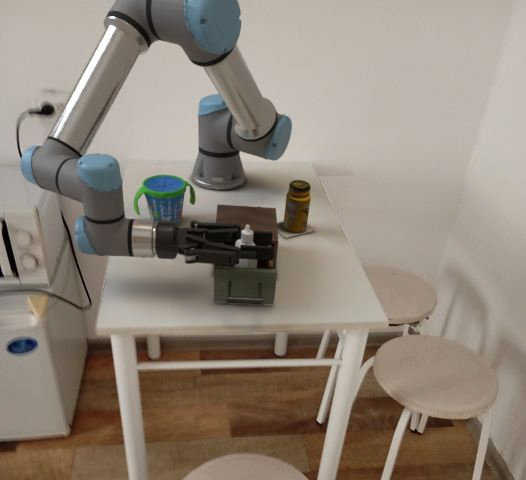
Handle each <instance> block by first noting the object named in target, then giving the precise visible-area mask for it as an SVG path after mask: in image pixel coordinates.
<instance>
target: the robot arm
mask: <svg viewBox="0 0 526 480" xmlns="http://www.w3.org/2000/svg"><path fill="white" fill-rule="evenodd" d="M241 16H242V11H241V7H240V3H239V1H238V0H115V1H114V3H113V4H112V6H111V8H110V9H108V12H107V14H106V16H105V17H104V19H103V28H104V31H103V34H102V35H101V37H100V39H99V40H98V43H97V44H96V47H95V48H94V50H93V52H92V53H91V55H90V56H89V57H90V58H89V59H88V61H87V63H86V65H85V67H84V69H82V72H81V74H80V76H79V78H78V80H77V81H76V83H75V85H74V87H73V89H72V91H71V92H70V94H69V96H68V98H67V100H65V101H66V102H65V103H64V105H63V106H62V108H61V111H60V112H59V115H57V118H56V119H55V122H54V123H53V125H52V128H51V129H50V131H49V133H48V135H47V137H46V139H45V140H44V141H43V144H42V145H31V146H30V147H28V148H27V149H25V150H24V152H23V153H22V154H21V157H20V164H19V166H20V171H21V174H22V176H23V178H24V179H25V180H26V181H27V182H28V183H31V184H33V185H35V186H37V187H39V188H40V189H41V190H45V191H48V192H51V193H54V194H58V195H60V196H63V197H66V198H68V199H70V200H73V201H75V202H78V203H81V204H82V206H83V213H84V215H80V216H78V218H77V219H76V221H75V225H74V242H75V246H76V249H77V250H78V252H80V253H81V254H83V255H93V256H99V257H106V256H107V257H130V258H141V259H145V258H147V259H154V258H155V257H156V258H158V259H160V260H175V259H177V256H178V255H180V256H184V263H185V264H187V265H191V264H207V265H214V264H221V265H236V264H239V259H255V260H273V249H274V248H273V247H272V246H254V245H240V248H239V247H235V246H230V245H225V244H220V242H232V241H237V240H239V239H241V231H242V230H241V226H240V225H237V224H231V223H216V222H206V221H205V222H203V221H198V220H190V221H189V227H188V226H186V227H179V226H178V225H177V223H176V222H175V221H161V220H160V221H159V222H158V223H156V221H155V220H151V219H146V218H145V219H142V218H129V217H128V218H127V217H126V212H125V203H124V189H123V185H124V184H123V183H124V182H123V178H122V174H121V167H120V163H119V161H118V159H117V158H116V157H114V156H113V155H111V154H107V153H103V154H102V153H99V152H97V153H96V152H94V153H88V151H89V150H90V147H91V145H92V144H93V141H94V140H95V138H96V136H97V135H98V132H99V130H101V129H100V128H101V127H102V125H103V124H104V121H105V120H106V118H107V116H108V114H109V112H110V110H111V109H112V106H113V104H114V103H115V101H116V99H117V98H118V95H119V93H120V92H121V90H122V88H123V86H124V84H125V83H126V80H127V79H128V77H129V75H130V74H131V71H132V69H134V66H135V64H136V62H137V60H138V58H139V56H143V55H146V54H147V53H148V51H149V49H150V48H151V46H152V45H153V44H154V43H155V42H158V41H161V42H165V43H168V44H169V43H170V44H174V45H178V46H179V47H180V48H181V50H183V52H184V54H185V56H187V58H188V60H189V61H190V62H191V63H192V64H193V65H195V66H197V67H200V68H203V70H204V72H205V73H206V75H207V77H208V78H209V80H210V82H211V83H212V85H213V86H214V88H215V89H216V91H217V93H215V94H209V95H206V96H204V97H202V98H201V99H200V100H199V102H198V109H197V110H198V113H197V119H198V120H197V123H198V124H197V125H198V126H197V127H198V153H197V156H196V158H195V162H194V165H193V168H192V173H191V178H192V181H193V183H194V184H196V185H197V186H199V187H201V188H205V189H207V190H214V191H215V190H216V191H228V190H234V189H236V188H239V187H241V186H242V185H243V184H244V183H245V180H246V179H245V178H246V174H245V169H244V165H243V163H242V159H241V154H240V152H241V153H243V154H247V155H251V156H253V157H257V158H262V159H264V160H269V161H274V162H276V161H278V160H279V159H280V158H282V157H283V155H284V154H285V153H286V151H287V148H288V146H289V143H290V140H291V137H292V129H293V121H292V119H291V117H290V116H289V115H286V114H285V113H283V114H281V113H279V112H278V111H277V109H276V107H275V105H274V103H273V102H272V101H271V100H270V99H269V98H267V97H264V96H263V94H262V93H261V90H260V88H259V86H258V85H257V82H256V80H255V78H254V76H253V74H252V72H251V70H250V68H249V66H248V64H247V62H246V61H245V58H244V56H243V55H242V52H241V51H240V48H239V47H238V40H239V38H240V36H241V30H242V19H240V17H241ZM87 153H88V154H87ZM272 235H273V232H268V231H253V242H254V244H259V245H272Z"/></svg>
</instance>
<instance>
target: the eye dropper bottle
mask: <svg viewBox="0 0 526 480" xmlns="http://www.w3.org/2000/svg"><path fill="white" fill-rule="evenodd" d="M240 245H254V246H256V245H255V244H254V242H253V231H252V230H250V225H246V228H245V229H244V230H242V231H241V239H239V240H237V241H236V243H235V247H239V248H240ZM234 267H243V268H257V260H255V259H239V264H236V265H234Z"/></svg>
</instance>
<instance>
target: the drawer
mask: <svg viewBox="0 0 526 480" xmlns="http://www.w3.org/2000/svg"><path fill="white" fill-rule="evenodd" d="M235 243H236V241H232V242H220V244H225V245H230V246H235ZM255 245H256V246H272V245H259V244H255ZM213 268H214V276H213V302H214V303H215V302H216V303H226V304H233V305H251V306H252V305H255V306H264V305H271V306H272V305H274V304H275V297H276V288H277V287H276V285H277V278H278V277H277V276H278V269H277V268H276V269H273V260H257V268H243V267H234V265H221V264H218V266H214V265H213Z"/></svg>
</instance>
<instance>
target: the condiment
mask: <svg viewBox="0 0 526 480" xmlns="http://www.w3.org/2000/svg"><path fill="white" fill-rule="evenodd" d="M311 197H312V196H311V184H310V183H309V182H308V181H306V180H303V179H302V180H301V179H294V180H291V181H290V182H289V185H288V191H287V193H286V197H285V204H284V205H285V206H284V214H283V215H284V216H283V221H281V222H280V221H279V222H277V230H278V234H281V236H283V237H284V238H291V237H295V236H299V235H300V236H301V235H303V234H309V233H311V232H314V230H313V229H312V228H311V227H308V222H309V220H308V219H309V213H310V205H311Z"/></svg>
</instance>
